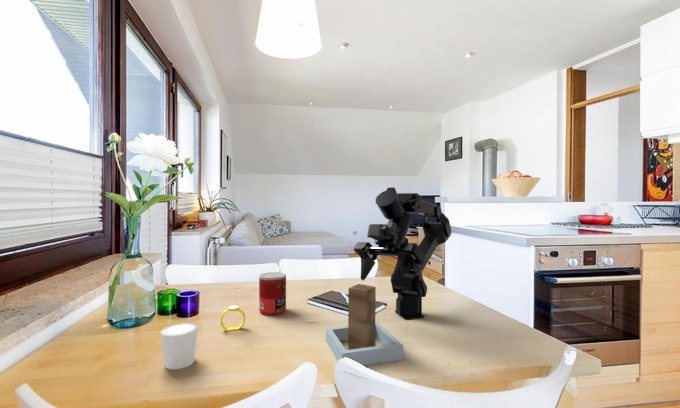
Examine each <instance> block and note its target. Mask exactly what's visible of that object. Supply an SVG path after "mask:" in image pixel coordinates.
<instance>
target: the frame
mask: <svg viewBox="0 0 680 408" xmlns="http://www.w3.org/2000/svg"><path fill="white" fill-rule="evenodd" d="M375 339H377V340H378V341H379V342H380V344H382V345H375V346H374V347H367V348H359V349H352V350H348V349H346V348H345V347H344V345H343V344H342V342H344V341H348V325H344V326H343V325H342V326H334V327H333V326H332V327H327V328H325V342H326V344H327V346H328V347H329V349H330V351H331V353H332V354H333V355H334V358H335V360H336V361H337V362H338V360H339V359H341V358H344V357H347V358H350V359H352V360H354V361H356V362H358V363H360V364H362V365H364V366H370V365H375V364H383V363H388V362H389V363H390V362H397V361H403V360H404V344H403V343H402V342H400V341H399V340H398V339H397V338H396V337H394V336H393V334H391V332H389V331H388V330H387V329H386V328H385V327H384V326H383V325H382V324H380V322H375Z"/></svg>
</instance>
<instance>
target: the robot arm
mask: <svg viewBox="0 0 680 408" xmlns="http://www.w3.org/2000/svg"><path fill="white" fill-rule="evenodd" d="M375 204H376V205H377V207H378V209H379V210H380V212H381V215H383V217H384V218H385V219H386V220H388V222H386V223H385V224H381V223H376V224H375V223H374V224H373V223H371V224H368V229H367V238H371V239H372V240H374V241H373V242H374V244H376V246H377V247H375V246H373V245H372V244H371V243H370V242H369V241H367V242H366V241H364V242H363V241H358V242H356V244H355V246H354V248H353V251H354V252H355V253H356V254H357V255H358V257H359V258H360V280H361V281H365V280H366V278H367V277H368V275H369V274H370V273H371V271H372V269H373V268H374V266H375V265H376V260H377V258H378V256H386V257H397V260H396V261H397V262H396V264H395V267H394V269H393V272H392V273H391V277H390V283H391V288H392V293H394V294H397V297H396V298H395V310H394V312H395V313H396V314H397V315H398V316H399V317H401V318H403V320H410V319H411V320H412V319H419V318H425V314H424V313H423V312H422V309H423V308H422V307H423V306H422V305H423V304H422V303H423V301H422V300H423V298H425V297H426V296H427V293H428V286H427V284H426V282H425V280H424V277H423V271H424V270H425V267H426V266H427V264H428V263H429V261H430V259H431V258H432V256H433V254H434V252H435V251H436V249H437V247H438V246H440V245H443V244H445V243H446V242H447V241H448V239H449V238H450V237H451V235H452V227H451V223H450V219H449V218H448V217H447V216H446V215H445V214H444V213H443V211H442V208H441V206H440V205H437V204H433V203H430V202H428V201H424V200H423V197H422V196H421V194H419V193H417V192H411V193H410V192H403V193H399V192H397V190H396V188H395V187H394V186H393V187H387V188H386V190H384V191H382V192H380V193H379V194H378V195H377V196H376V197H375ZM410 214H417V215H421V216H423V221H422V223H421V227H422V230H423V235H424V237H423V238H422V239H421V242H420V243H419V244H418V243H417V242H408V238H407V234H408V231H409V229H410V228H414V222H413V219H412V217H411V215H410ZM428 218H436V219H437V220H438V222H432V221H428Z"/></svg>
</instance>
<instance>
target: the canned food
mask: <svg viewBox="0 0 680 408" xmlns="http://www.w3.org/2000/svg"><path fill="white" fill-rule="evenodd" d="M258 280H259V281H258V284H259V285H258V289H259V290H258V299H259V300H258V302H259V303H258V304H259V307H258V308H259V309H258V310H259V313H260V314H261V315H263V316H279V315H280V316H281V315H282V314H284V313H285V312H286V309H287V275H286V273H283V272H280V271H278V272H277V271H275V272H274V271H273V272H271V271H270V272H264V273H261V274H259V277H258Z"/></svg>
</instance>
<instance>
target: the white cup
mask: <svg viewBox="0 0 680 408" xmlns="http://www.w3.org/2000/svg"><path fill="white" fill-rule="evenodd" d="M198 327H199V326H198V325H197V324H195V323H193V322H192V323H191V322H184V323H183V322H182V323H176V324H172V325H169V326H166V327H164V328H163V329H162V330H160V338H161V339H160V340H161V347H162V350H161V351H162V359H163V366H164V369H167V370H182V369H184V368H188V367H189V366H191V365H192V364H194V362H195V361H196V360H195V359H196V348H197V340H198V329H199V328H198Z"/></svg>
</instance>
